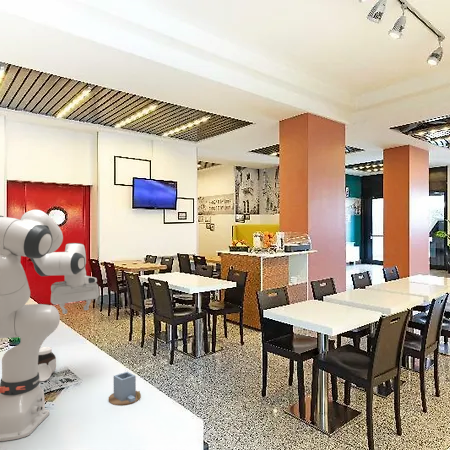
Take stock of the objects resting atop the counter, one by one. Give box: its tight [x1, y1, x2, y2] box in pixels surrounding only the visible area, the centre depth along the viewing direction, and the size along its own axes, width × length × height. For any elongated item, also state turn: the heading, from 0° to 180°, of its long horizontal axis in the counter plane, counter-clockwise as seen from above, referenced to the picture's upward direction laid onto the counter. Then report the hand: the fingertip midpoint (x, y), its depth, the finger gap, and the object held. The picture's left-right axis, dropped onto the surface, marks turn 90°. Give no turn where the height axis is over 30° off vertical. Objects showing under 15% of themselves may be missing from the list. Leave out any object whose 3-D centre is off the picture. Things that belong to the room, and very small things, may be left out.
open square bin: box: [113, 371, 137, 402], centre depth 147 cm, size 9×6×8 cm, turn 45°
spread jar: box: [38, 346, 57, 382], centre depth 169 cm, size 12×11×12 cm
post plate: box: [108, 390, 142, 406], centre depth 148 cm, size 12×12×7 cm
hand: (75, 311), depth 167 cm, fingers open, 8 cm apart
